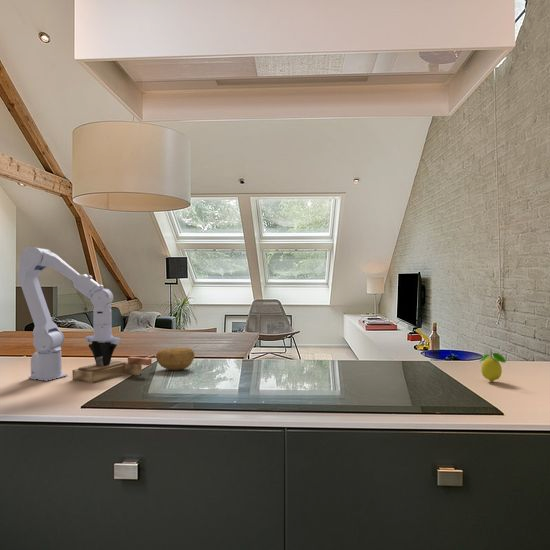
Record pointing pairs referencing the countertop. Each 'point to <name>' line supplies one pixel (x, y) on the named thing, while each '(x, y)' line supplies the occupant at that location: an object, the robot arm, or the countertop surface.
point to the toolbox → (107, 373)
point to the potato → (175, 358)
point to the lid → (100, 365)
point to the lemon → (492, 366)
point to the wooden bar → (140, 360)
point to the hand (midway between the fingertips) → (102, 364)
